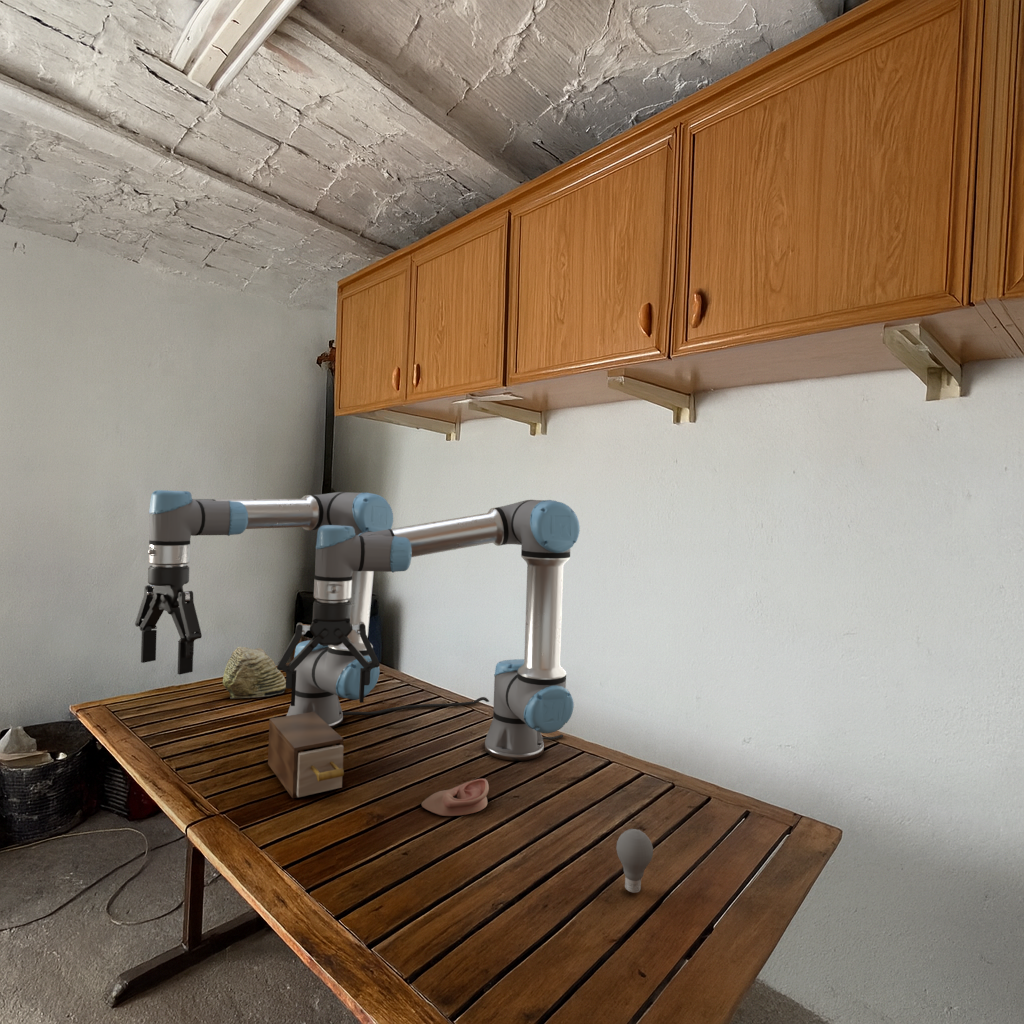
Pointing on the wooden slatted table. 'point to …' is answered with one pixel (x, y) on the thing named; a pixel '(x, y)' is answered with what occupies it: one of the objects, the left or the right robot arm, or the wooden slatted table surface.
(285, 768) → the cabinet
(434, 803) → the anatomical model
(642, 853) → the light bulb
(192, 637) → the left robot arm
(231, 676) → the fossil
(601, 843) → the wooden slatted table surface
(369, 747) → the wooden slatted table surface
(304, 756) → the drawer
